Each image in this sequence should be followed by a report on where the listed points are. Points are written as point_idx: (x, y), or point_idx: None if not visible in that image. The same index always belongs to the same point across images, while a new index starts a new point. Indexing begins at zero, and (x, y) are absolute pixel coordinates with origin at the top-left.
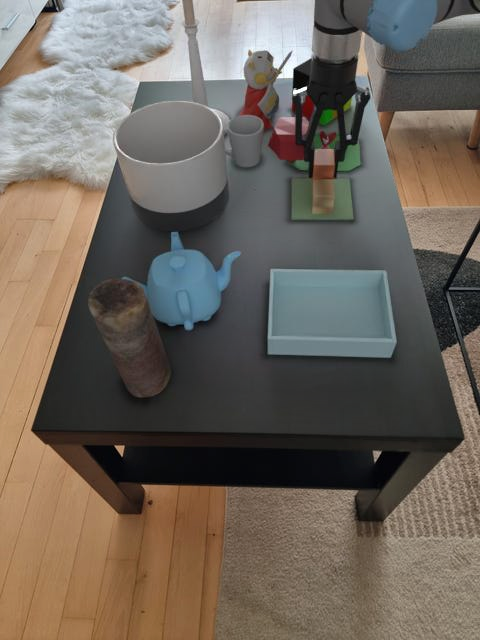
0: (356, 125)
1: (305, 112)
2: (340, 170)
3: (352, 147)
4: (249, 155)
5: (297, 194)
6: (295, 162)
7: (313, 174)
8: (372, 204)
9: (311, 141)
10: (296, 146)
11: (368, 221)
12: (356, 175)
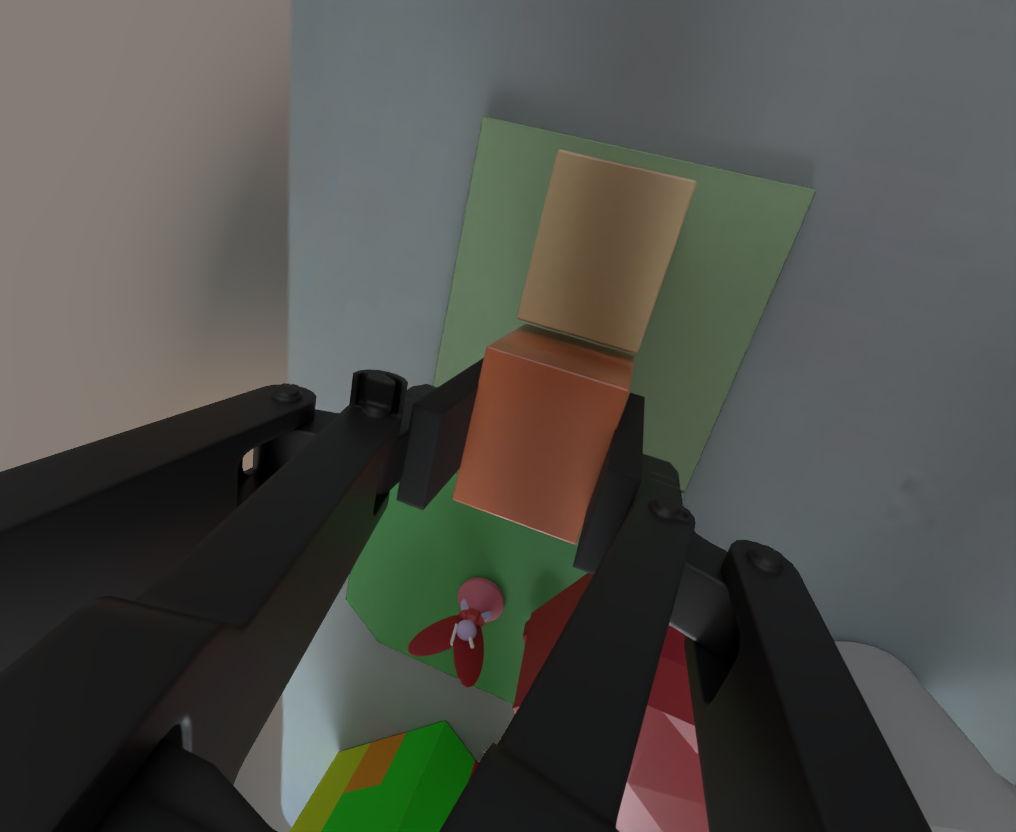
0: (130, 457)
1: None
2: None
3: (375, 575)
4: (894, 697)
5: (701, 373)
6: None
7: (630, 370)
8: (376, 219)
9: (637, 525)
10: None
11: (420, 95)
12: None
